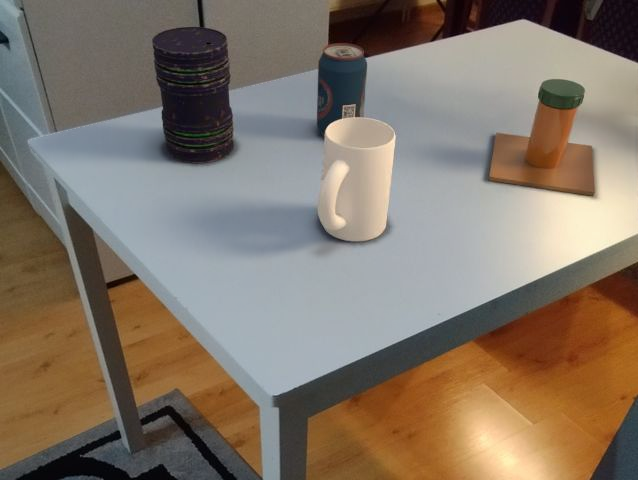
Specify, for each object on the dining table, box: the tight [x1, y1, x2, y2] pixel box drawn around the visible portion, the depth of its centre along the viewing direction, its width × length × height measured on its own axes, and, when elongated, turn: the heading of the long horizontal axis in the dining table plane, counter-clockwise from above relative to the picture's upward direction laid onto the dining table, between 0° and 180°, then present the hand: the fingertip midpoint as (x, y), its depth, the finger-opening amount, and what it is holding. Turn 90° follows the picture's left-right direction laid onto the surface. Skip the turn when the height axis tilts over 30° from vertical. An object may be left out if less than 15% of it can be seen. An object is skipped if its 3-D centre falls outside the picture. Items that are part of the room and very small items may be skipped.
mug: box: [317, 117, 396, 242], centre depth 79 cm, size 8×12×12 cm
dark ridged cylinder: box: [151, 26, 235, 164], centre depth 93 cm, size 10×10×15 cm
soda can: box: [316, 42, 368, 137], centre depth 99 cm, size 7×7×12 cm
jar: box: [525, 99, 579, 168], centre depth 94 cm, size 5×5×10 cm
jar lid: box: [537, 78, 586, 109], centre depth 91 cm, size 6×6×2 cm
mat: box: [487, 132, 596, 197], centre depth 97 cm, size 14×14×1 cm
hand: (619, 23), depth 91 cm, fingers open, 8 cm apart
